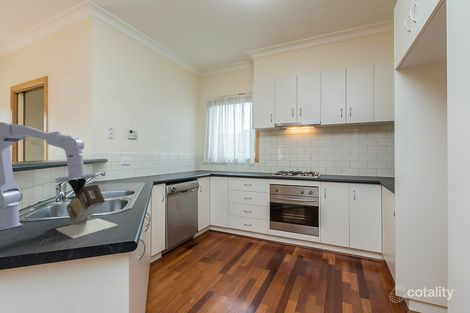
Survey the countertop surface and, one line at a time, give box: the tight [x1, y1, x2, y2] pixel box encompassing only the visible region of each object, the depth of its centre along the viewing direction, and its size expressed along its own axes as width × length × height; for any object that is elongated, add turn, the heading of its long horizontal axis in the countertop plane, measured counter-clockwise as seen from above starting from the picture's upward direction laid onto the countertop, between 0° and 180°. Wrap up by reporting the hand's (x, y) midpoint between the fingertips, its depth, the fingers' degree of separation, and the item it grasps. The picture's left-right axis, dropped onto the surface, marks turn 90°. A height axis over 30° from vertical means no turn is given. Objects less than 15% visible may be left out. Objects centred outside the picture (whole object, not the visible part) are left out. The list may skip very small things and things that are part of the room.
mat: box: [55, 218, 119, 239], centre depth 90 cm, size 18×16×1 cm
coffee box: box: [65, 184, 106, 225], centre depth 94 cm, size 9×6×16 cm
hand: (78, 196), depth 96 cm, fingers closed, pressing on coffee box
